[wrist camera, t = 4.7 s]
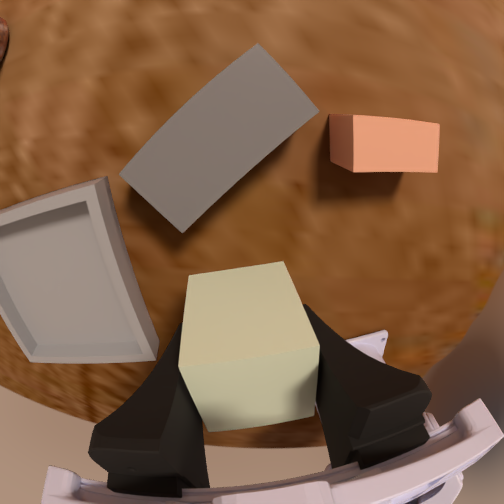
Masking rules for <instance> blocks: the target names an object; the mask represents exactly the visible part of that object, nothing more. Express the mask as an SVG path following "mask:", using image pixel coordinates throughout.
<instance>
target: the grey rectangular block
mask: <svg viewBox="0 0 504 504" xmlns="http://www.w3.org/2000/svg"><path fill="white" fill-rule="evenodd" d="M318 112H319V110H318V109H317V108H316V107H315V105H314V104H313V103H312V102H311V100H310V99H309V98H308V97H307V96H306V95H305V93H304V92H303V91H302V90H301V89H300V88H299V86H298V85H297V84H296V83H295V82H294V81H293V80H292V78H291V77H290V76H289V75H288V74H287V73H286V72H285V71H284V70H283V68H282V67H281V66H280V65H279V64H278V63H277V62H276V61H275V60H274V59H273V58H272V57H271V56H270V55H269V54H268V53H267V52H266V51H265V50H264V49H263V48H262V47H261V46H260V45H259V44H256V45H255V46H254V47H252V48H251V49H250V50H248V51H247V52H246V53H244V54H243V55H242V56H240V57H239V58H238V59H237V60H235V61H234V62H233V63H232V64H230V65H229V66H228V67H227V68H225V69H224V70H223V71H222V72H220V73H219V74H218V75H217V76H216V77H215V78H213V79H212V80H211V81H210V82H209V83H208V84H206V85H205V86H204V87H203V88H202V89H201V90H200V91H198V92H197V93H196V94H195V95H194V96H193V97H192V98H191V99H190V100H189V101H188V102H186V103H185V104H184V105H183V106H182V107H181V108H180V109H179V110H178V111H177V112H176V113H175V114H174V115H173V116H172V117H171V118H170V119H169V120H168V121H167V122H166V123H165V124H164V125H163V126H162V127H161V128H160V129H159V130H158V131H157V132H156V133H155V134H154V135H153V136H152V137H151V138H150V139H149V141H148V142H147V143H146V144H145V145H144V146H143V147H142V148H141V149H140V150H139V151H138V153H137V154H136V155H135V156H134V157H133V158H132V159H131V161H130V162H129V163H128V164H127V165H126V166H125V168H124V169H123V170H122V171H121V172H120V173H119V175H120V176H121V177H122V178H123V179H124V180H125V181H126V182H127V183H128V184H129V185H131V186H132V187H133V188H134V189H135V190H136V191H137V192H138V193H139V194H140V195H141V196H142V197H143V198H144V199H145V200H147V201H148V202H149V203H150V204H151V205H152V206H153V207H154V208H155V209H156V210H157V211H158V212H160V213H161V214H162V215H163V216H164V217H165V218H166V219H167V220H168V221H169V222H170V223H172V224H173V225H174V226H175V227H176V228H177V229H178V230H179V231H180V232H181V233H183V232H184V231H185V230H186V229H187V228H189V227H190V226H191V225H192V224H193V223H194V222H195V221H196V220H197V219H198V218H199V217H200V216H201V215H202V214H203V213H204V212H205V211H206V210H207V209H208V208H209V207H210V206H211V205H213V204H214V203H215V202H216V201H217V200H218V199H219V198H220V197H221V196H222V195H223V194H224V193H225V192H226V191H228V190H229V189H230V188H231V187H232V186H233V185H234V184H235V183H236V182H237V181H239V180H240V179H241V178H242V177H243V176H244V175H245V174H246V173H247V172H249V171H250V170H251V169H252V168H253V167H254V166H255V165H256V164H258V163H259V162H260V161H261V160H262V159H263V158H264V157H266V156H267V155H268V154H269V153H270V152H271V151H272V150H274V149H275V148H276V147H277V146H278V145H279V144H281V143H282V142H283V141H284V140H285V139H287V138H288V137H289V136H290V135H291V134H292V133H294V132H295V131H296V130H297V129H298V128H300V127H301V126H302V125H303V124H305V123H306V122H307V121H308V120H309V119H311V118H312V117H313V116H314V115H316V114H317V113H318Z"/></svg>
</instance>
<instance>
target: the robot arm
mask: <svg viewBox="0 0 504 504" xmlns="http://www.w3.org/2000/svg"><path fill="white" fill-rule="evenodd" d="M303 307H304V310H305V312H306V314H307V317H308V319H309V321H310V324H311V326H312V328H313V331H314V333H315V335H316V338H317V340H318V342H319V345H320V349H319V364H318V378H317V389H316V400H315V405H316V408H317V411H318V414H319V417H320V420H321V423H322V427H323V431H324V435H325V439H326V443H327V448H328V452H329V457H330V461H331V464H329V465H328V466H327V467H326V469H325V471H322V472H318V473H314V474H310V475H306V476H301V477H296V478H291V479H286V480H280V481H274V482H268V483H261V484H253V485H245V486H234V487H222V488H210V485H209V479H208V473H207V465H206V457H205V449H204V438H203V426H202V418H201V416H200V414H199V412H198V409H197V407H196V405H195V403H194V401H193V399H192V397H191V395H190V392H189V390H188V388H187V386H186V383H185V381H184V379H183V377H182V374H181V372H180V370H179V367H178V364H179V354H180V344H181V335H182V326H183V323H180V324H179V326H178V328H177V330H176V332H175V334H174V336H173V338H172V340H171V341H170V343H169V345H168V347H167V349H166V350H165V352H164V354H163V355H162V357H161V359H160V360H159V362H158V363H157V365H156V366H155V368H154V369H153V371H152V372H151V374H150V375H149V376H148V378H147V379H146V380H145V381H144V383H143V384H142V385H141V386H140V387H139V388H138V390H137V391H136V392H135V393H134V394H133V395H132V396H131V397H130V398H129V399H128V400H127V401H126V402H125V403H124V404H123V405H122V406H120V407H119V408H118V409H117V410H116V411H114V412H113V413H112V414H111V415H109V416H108V417H106V418H105V419H104V420H102V421H101V422H99V423H98V424H96V425H95V427H94V430H93V433H92V437H91V441H90V446H89V451H88V453H89V455H90V457H91V458H92V459H93V460H94V461H95V462H96V463H97V464H99V465H100V466H101V467H102V468H103V469H105V470H107V472H109V473H108V480H107V482H100V481H95V480H89V479H84V478H81V477H80V476H78V475H77V474H76V473H74V472H72V471H70V470H67V469H64V468H59V467H55V466H52V465H49V467H48V471H47V476H46V481H45V485H44V490H43V495H42V500H41V504H452V503H453V502H454V500H455V499H456V497H457V495H458V494H459V492H460V490H461V488H462V486H463V482H462V480H463V478H464V476H463V474H462V471H463V470H465V469H466V468H468V467H469V466H471V465H472V464H474V463H475V462H476V461H477V460H479V459H480V458H481V457H482V456H484V455H485V454H486V453H487V452H488V451H489V450H490V449H491V448H492V447H493V446H494V445H496V444H497V443H498V442H499V441H500V440H501V439H502V438H503V436H504V434H503V433H502V431H501V430H500V428H499V426H498V425H497V423H496V422H495V420H494V418H493V417H492V415H491V414H490V412H489V411H488V409H487V408H486V406H485V405H484V403H483V402H482V400H481V399H477V400H475V401H474V402H472V403H471V404H469V405H467V406H466V407H464V408H463V409H461V410H460V411H459V412H458V413H457V414H456V415H455V417H454V419H453V420H452V421H450V422H448V423H446V424H445V425H442V426H441V427H439V425H438V423H437V422H436V420H435V418H434V417H433V415H432V414H431V413H425V412H424V411H425V409H426V407H427V406H428V404H429V402H430V400H431V397H432V393H431V391H430V390H429V388H428V386H427V385H426V383H425V382H424V381H423V379H422V378H421V377H420V376H419V375H416V374H412V373H409V372H406V371H402V370H399V369H397V368H394V367H392V366H389V365H387V364H386V363H385V362H384V360H383V358H382V356H383V352H384V348H385V345H386V341H387V337H388V333H387V331H386V330H382V331H379V332H375V333H371V334H368V335H364V336H360V337H356V338H352V339H348V340H344V339H343V338H342V337H340V336H339V335H338V334H337V333H336V332H334V331H333V330H332V329H331V328H330V327H329V326H328V325H326V324H325V323H324V322H323V321H322V320H321V319H320V318H319V317H318V316H317V315H316V314H315V313H314V312H313V311H312V310H311V309H310V308H309V306H307V305H306V304H303Z"/></svg>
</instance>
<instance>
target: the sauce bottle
mask: <svg viewBox="0 0 504 504" xmlns="http://www.w3.org/2000/svg"><path fill="white" fill-rule="evenodd" d="M8 36H9V28H8V25H7V22H6V21H5V20H4V19H3V18H1V17H0V61H1V60H2V58H3V55H4V52H5V49H6V46H7V41H8Z"/></svg>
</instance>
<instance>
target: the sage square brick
mask: <svg viewBox="0 0 504 504" xmlns="http://www.w3.org/2000/svg"><path fill="white" fill-rule="evenodd" d="M319 349H320V345H319V342H318V340H317V338H316V335H315V333H314V331H313V328H312V326H311V324H310V321H309V319H308V317H307V314H306V312H305V310H304V307H303V305H302V303H301V300H300V298H299V296H298V294H297V291H296V289H295V287H294V284H293V282H292V280H291V278H290V275H289V273H288V271H287V269H286V266H285V264H284V262H283V261H282V262H276V263H269V264H263V265H256V266H250V267H243V268H236V269H230V270H223V271H216V272H209V273H203V274H196V275H189V279H188V286H187V294H186V301H185V309H184V317H183V326H182V335H181V344H180V354H179V364H178V367H179V370H180V372H181V374H182V377H183V379H184V381H185V383H186V386H187V388H188V390H189V392H190V395H191V397H192V399H193V401H194V403H195V405H196V407H197V409H198V412H199V414H200V416H201V418H202V420H203V422H204V424H205V426H206V428H207V430H208V432H216V431H226V430H235V429H244V428H251V427H258V426H264V425H271V424H276V423H282V422H287V421H292V420H297V419H302V418H307V417H311V416H314V410H315V400H316V389H317V378H318V364H319Z"/></svg>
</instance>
